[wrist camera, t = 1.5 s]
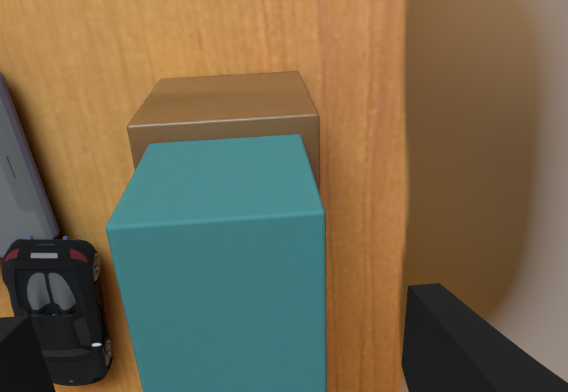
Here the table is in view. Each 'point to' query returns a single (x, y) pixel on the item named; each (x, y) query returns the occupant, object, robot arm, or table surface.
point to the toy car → (61, 305)
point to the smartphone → (20, 183)
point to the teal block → (224, 266)
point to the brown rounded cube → (227, 112)
